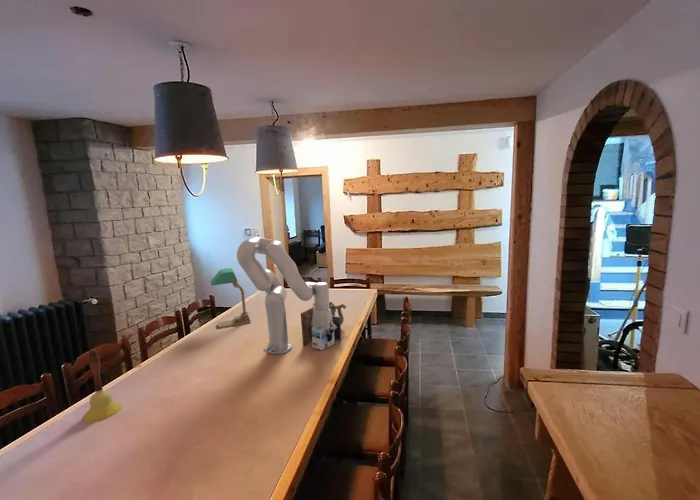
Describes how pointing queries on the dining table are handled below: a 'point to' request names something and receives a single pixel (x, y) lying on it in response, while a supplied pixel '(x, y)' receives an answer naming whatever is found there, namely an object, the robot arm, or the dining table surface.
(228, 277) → the banker's lamp
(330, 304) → the tankard
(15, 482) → the dining table surface
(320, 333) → the light bulb box
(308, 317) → the walnut wall
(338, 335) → the bookend
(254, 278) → the robot arm
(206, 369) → the dining table surface
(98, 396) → the handbell
